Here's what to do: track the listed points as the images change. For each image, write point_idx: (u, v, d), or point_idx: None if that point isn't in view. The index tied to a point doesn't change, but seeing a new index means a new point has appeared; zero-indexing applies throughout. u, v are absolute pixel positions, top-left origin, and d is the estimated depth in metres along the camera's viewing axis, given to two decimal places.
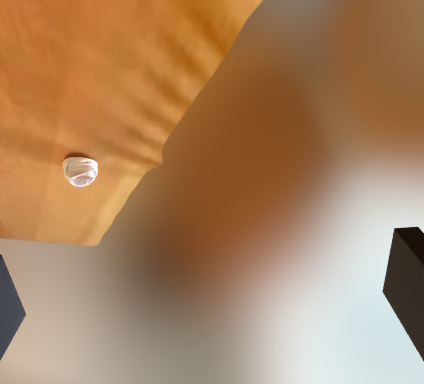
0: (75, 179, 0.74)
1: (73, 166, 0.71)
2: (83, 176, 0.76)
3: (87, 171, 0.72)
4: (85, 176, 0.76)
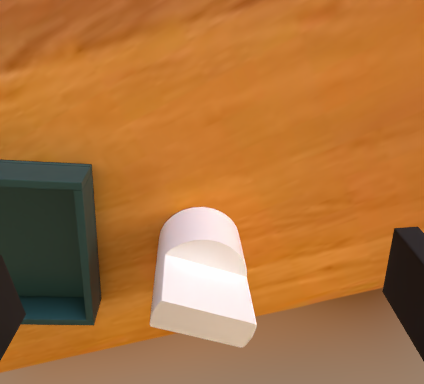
0: None
1: None
2: None
3: None
4: None
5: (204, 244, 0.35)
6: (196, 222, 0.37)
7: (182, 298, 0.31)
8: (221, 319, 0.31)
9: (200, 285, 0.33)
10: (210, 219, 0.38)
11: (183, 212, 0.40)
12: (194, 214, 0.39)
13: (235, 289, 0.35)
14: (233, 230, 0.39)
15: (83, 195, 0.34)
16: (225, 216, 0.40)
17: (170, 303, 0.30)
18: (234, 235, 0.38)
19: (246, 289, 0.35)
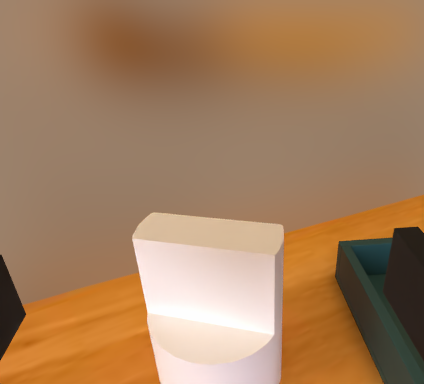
0: None
1: None
2: None
3: None
4: None
5: (216, 356, 0.22)
6: None
7: (242, 263, 0.21)
8: (182, 240, 0.22)
9: (216, 287, 0.22)
10: None
11: None
12: None
13: (163, 290, 0.24)
14: None
15: None
16: None
17: (260, 252, 0.20)
18: (167, 379, 0.24)
19: (147, 291, 0.24)
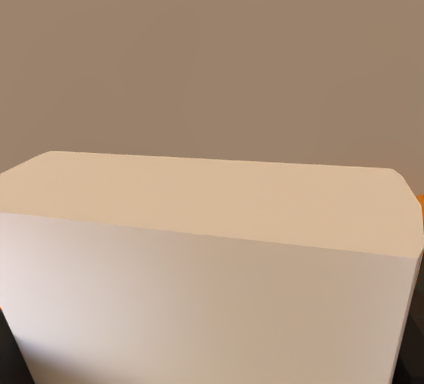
0: None
1: None
2: None
3: None
4: None
5: None
6: None
7: (287, 284, 0.06)
8: (96, 210, 0.07)
9: (201, 353, 0.08)
10: None
11: None
12: None
13: (64, 349, 0.09)
14: None
15: None
16: None
17: (359, 246, 0.06)
18: None
19: (28, 349, 0.09)
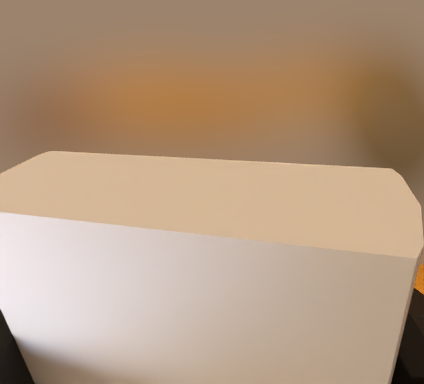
0: None
1: None
2: None
3: None
4: None
5: None
6: None
7: (287, 285, 0.06)
8: (95, 210, 0.07)
9: (200, 354, 0.08)
10: None
11: None
12: None
13: (64, 349, 0.09)
14: None
15: None
16: None
17: (357, 246, 0.06)
18: None
19: (27, 350, 0.09)
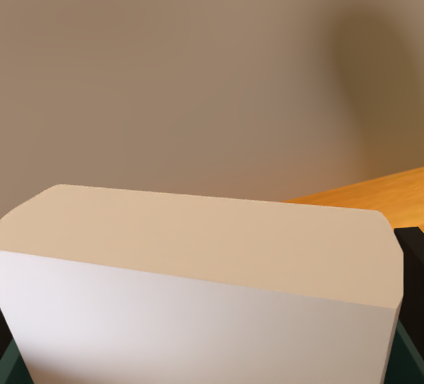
0: None
1: None
2: None
3: None
4: None
5: None
6: None
7: (280, 326, 0.07)
8: (104, 252, 0.08)
9: (200, 382, 0.08)
10: None
11: None
12: None
13: (72, 374, 0.10)
14: None
15: None
16: None
17: (344, 295, 0.06)
18: None
19: (38, 373, 0.10)
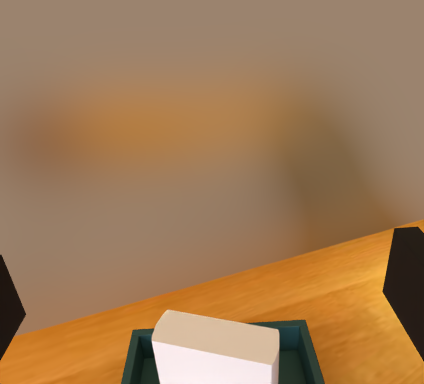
0: None
1: None
2: None
3: None
4: None
5: None
6: None
7: (244, 368, 0.25)
8: (194, 344, 0.26)
9: (221, 383, 0.26)
10: None
11: None
12: None
13: (177, 380, 0.28)
14: None
15: None
16: None
17: (259, 361, 0.24)
18: None
19: (162, 379, 0.28)
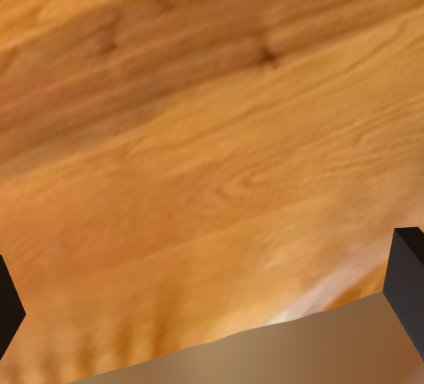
0: None
1: None
2: None
3: None
4: None
5: None
6: None
7: None
8: None
9: None
10: None
11: None
12: None
13: None
14: None
15: None
16: None
17: None
18: None
19: None
